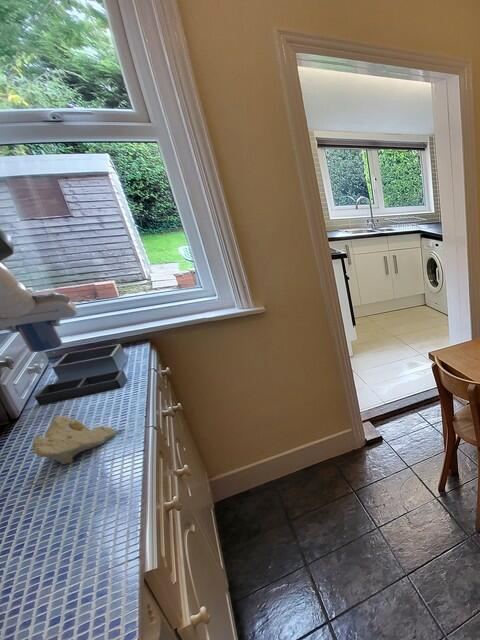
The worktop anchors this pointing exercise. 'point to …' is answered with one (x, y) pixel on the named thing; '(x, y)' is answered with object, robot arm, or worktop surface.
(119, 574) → the worktop surface
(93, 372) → the sink
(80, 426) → the cheese
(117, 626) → the worktop surface
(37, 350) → the cup
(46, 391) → the divided tray
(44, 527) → the worktop surface
